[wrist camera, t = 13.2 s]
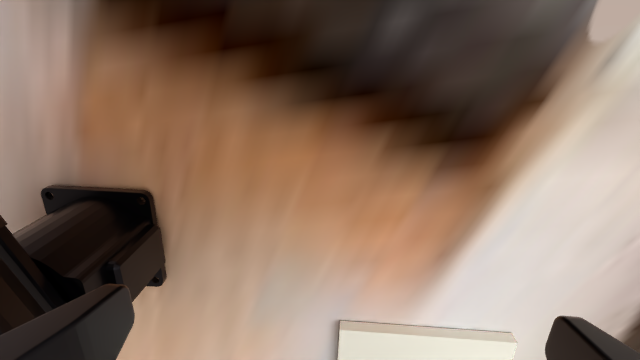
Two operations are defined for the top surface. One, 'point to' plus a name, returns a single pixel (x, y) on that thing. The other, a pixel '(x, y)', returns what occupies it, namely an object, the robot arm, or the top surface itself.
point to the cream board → (421, 343)
